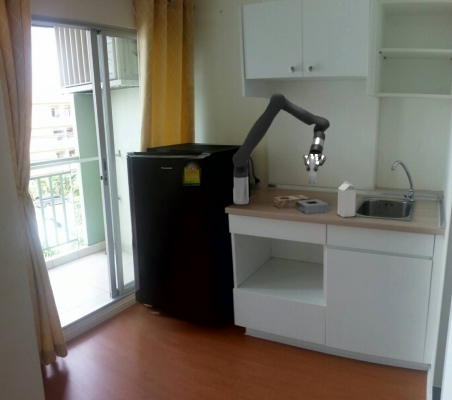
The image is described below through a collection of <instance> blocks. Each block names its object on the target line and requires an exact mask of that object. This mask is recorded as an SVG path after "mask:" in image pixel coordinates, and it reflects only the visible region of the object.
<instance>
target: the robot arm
mask: <svg viewBox="0 0 452 400" xmlns="http://www.w3.org/2000/svg"><path fill="white" fill-rule="evenodd" d="M281 110H282V111H284V112H286V113H288V114H289V115H291V116H292V117H294V118H295V119H297V120H299V121H300V122H302V123H304V124H305V125H307V126H313V125H314V127H313V138H312V141H311V143H310V147H309V152H308V154H307V155H303V157H302V158H303V164H304V165H305V166H306V167H305V169H306V172H309V156H316V166H315V172H316V173H317V171H319V167H322V166H324V163H326V160H327V156H326V155H323V152H324V147H325V142H326V141H325V140H326V134H325V132H326V131H327V130H328V129H329V128H330V127H331V126H330V125H331V123H330V120H328V119H327V118H326V117H323V116H319V115H316V114H313V113H311V112H310V111H308V110H306V109H304V108H302V107H301V106H298V105H296V104H295V103H293V102H291V101H290V100H289V99H288V98H286V97H285V95H284V94H282V93H281V92H275V93H273V94H272V95H271V96H270V97H269V102H268V105H267V106H266V108H265V109H264V111H263V113H262V114H260V116H259V117H258V118H257V119H256V121H255V122H254V123H253V125H252V126H251V128H250V130H249V132H248V133H247V135H246V137H245V139H244V141H243V143H242V145H241V146H240V148H238V150H237V151H236V153H234V154H233V156H232V163H233V189H232V193H233V194H232V195H233V197H232V198H233V204H235V205H247V204H249V158H250V155H251V154H252V152H254V150H255V148H257V146H258V145H259V144H260V143H261V141H262V140H263V139H264V137H265V135H266V134H267V132H268V130H269V128H270V127H271V125H272V123H273V121H274V120H275V118H276V116H277V115H279V113H280V111H281Z"/></svg>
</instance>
